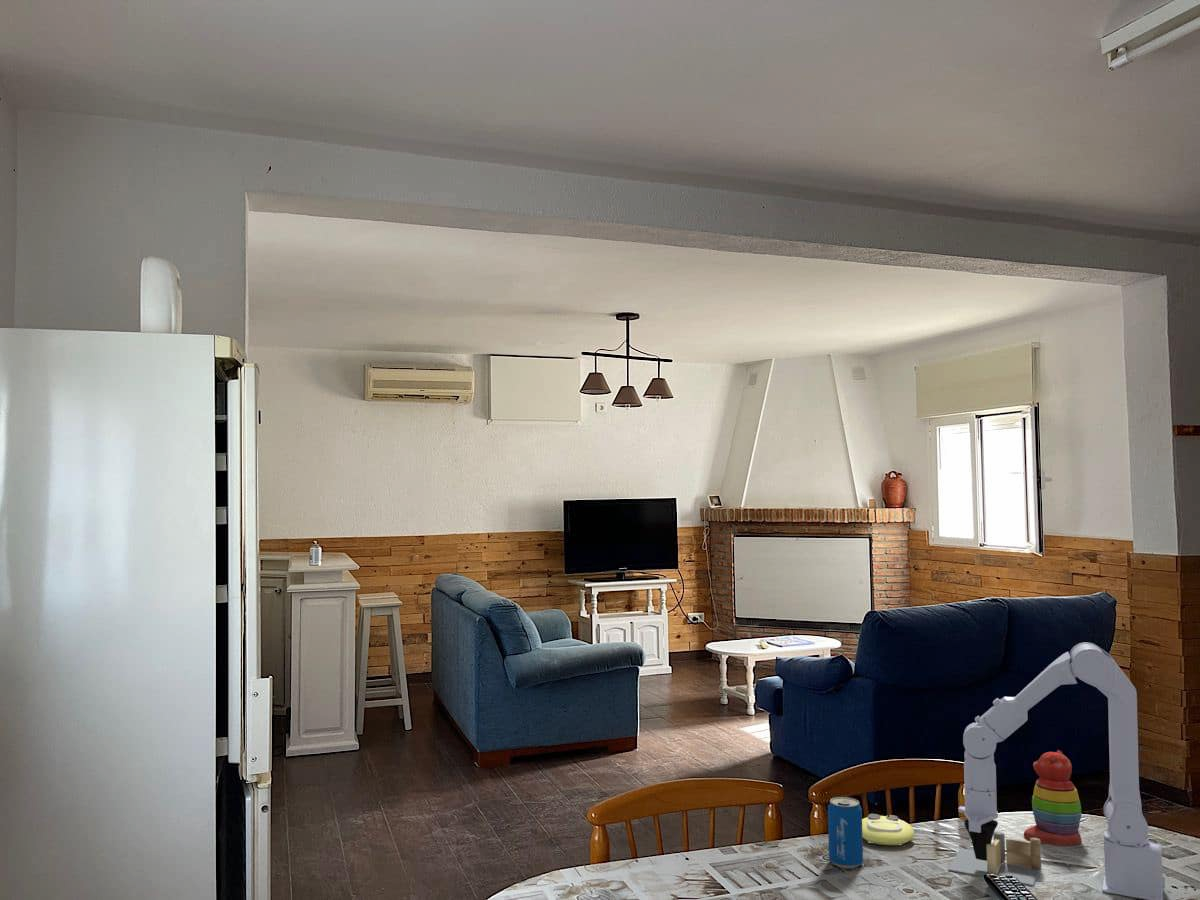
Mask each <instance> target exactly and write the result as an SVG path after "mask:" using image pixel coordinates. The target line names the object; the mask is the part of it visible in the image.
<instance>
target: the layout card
mask: <svg viewBox="0 0 1200 900" xmlns="http://www.w3.org/2000/svg"><path fill="white" fill-rule="evenodd" d="M947 871H948V872H953V873H957V874H963V875H968V876H974V877H980V878H984V875H985V874H990V873H988V872H987V861H984V860H979V859H976V857H975V853H974V849H968V848H963V847H960V848H959V850H958V851H957V854H955V857H954V858H953V860H952V862H951V864H950V865H949V866H948V868H947ZM1039 871H1040V870H1035V869H1032V868H1029V867H1024V866H1018V865H1012V864H1007V858H1006V855H1005V861H1004V862H1000V864H999V866H998V867H997V869H996V874H994V875H1011V876H1013V877H1015V878H1017V879H1018V880H1019V881H1020V882H1021V883H1022V884H1021V885H1024V886H1029V887H1034V886H1035V883H1036V881H1037V878H1038V874H1039Z"/></svg>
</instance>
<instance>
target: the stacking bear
mask: <svg viewBox="0 0 1200 900" xmlns="http://www.w3.org/2000/svg"><path fill="white" fill-rule="evenodd" d="M1032 766H1033V769H1034V772H1035V773H1036V775H1037V776H1038V779H1036V781H1035V785H1034V788H1033V795H1032V797H1031V804H1032V806H1031V808H1032V814H1033V818H1034V823H1035V825H1033V826H1030V827H1029V828H1026V829H1025V830H1024V832H1023V837H1024V838H1025V839H1027V841H1028V840H1029V841H1030V838H1038V839H1040V844H1044V845H1045V844H1046V845H1051V846H1053V845H1054V846H1076V845H1078V844H1080V843H1081V842H1082V837H1081V833H1080V831H1079V828H1080V821H1081V819H1082V806H1081V805H1082V804H1081V801H1080V797H1079V793H1078V790H1077V788H1076V787H1075V785H1074V784H1073V782H1072V781H1071V780H1070V778H1071V775H1072V772H1073V771H1072V770H1073V766H1072V763H1071V760H1070V759H1069V758H1068V757H1067V756H1066V755H1064V753H1063V752H1062V751H1061V750H1058V749H1057V751H1048V752H1044V753H1043V754H1041V755H1040V757H1039V758H1038V760H1036V761H1034V762H1033V765H1032Z"/></svg>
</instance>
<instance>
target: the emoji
mask: <svg viewBox="0 0 1200 900" xmlns="http://www.w3.org/2000/svg"><path fill="white" fill-rule="evenodd" d="M888 815H889V817H888ZM888 815H885V816H884V815H880V814H877V813H869V814H868V816H867V817H864V818H862V839H864V840H865V841H867V842H868V841H870V842H873V843H876V844H875V845H883V846H899V844H903V845H904V844H905V843H908V842H909V841H911V840H913V838H914V836H915V833H916V832H915V830H914V828H913V826H911V824H909V823H907V822H906V821H904V820H902V819H900V818H899V817H898V816H897V815H893V814H888Z"/></svg>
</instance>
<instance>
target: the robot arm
mask: <svg viewBox="0 0 1200 900" xmlns="http://www.w3.org/2000/svg"><path fill="white" fill-rule="evenodd" d="M1076 679H1079V680H1081V681H1083V682H1084V683H1085V684H1087V685H1090V686H1092V687H1095V688H1097V690H1098V691H1100V692H1101V693H1102V694H1103V695H1104V696H1105V697H1107V706H1108V707H1107V708H1108V746H1109V747H1108V748H1109V749H1108V751H1109V752H1108V753H1109V784H1108V786H1109V787H1108V797H1107V800H1106V801H1105V803H1104V805H1103V815H1104V818H1105V820H1107V829H1106V830H1105V831H1104V832H1103V846H1104V847H1103V849H1104V875H1103V881H1102V885H1101V886H1102V887H1101V891H1102V892H1103V893H1108V894H1113V895H1119V896H1125V897H1130V898H1137V899H1143V900H1164V889H1165V888H1166V880H1165V879H1166V878H1165V877H1164V876H1163V856H1162V855H1163V853H1162V845H1161V844H1159V843H1155V842H1151V841H1150V840H1149V838H1148V837H1149V836H1148V834H1149V825H1148V822H1147V820H1146V818H1145V816H1144V815H1143V810H1142V799H1141V794H1140V793H1141V792H1140V774H1139V766H1140V765H1139V736H1138V733H1139V732H1138V731H1139V730H1138V728H1139V727H1138V696H1137V695H1138V694H1137V693H1138V692H1137V689H1136V687H1135V685H1134V684H1133V683H1132V682H1131V680H1130V679H1129V677H1128V676H1127V675H1126V674H1125V673H1124V671H1123V669H1121V668H1120V666H1119V665H1118V663H1117V662H1116V661H1115V659H1114V658H1113V656H1112V655H1111V654H1110V653H1108V652H1107V651H1105V650H1104V649H1103V648H1101V647H1100V646H1098V645H1096V644H1095V643H1092V642H1080V643H1077V644H1076V645H1074V646H1073V647H1072V648H1071V650H1070V651H1066V652H1064V653H1063V654H1061V655H1060V656H1058V657H1057V658H1056V659H1055V660H1053V662H1051V663H1050V664H1048V665H1047V667H1045V668H1044V670H1043V671H1040V673H1039V674H1038V675H1037V676H1036V677H1034V679H1033V680H1031V682H1029V683H1028V684H1027V685H1026V686H1025V687H1024V688H1023V689H1022V690H1020V692H1019V693H1017V694H1016V696H1003V697H1002V698H1000V699H999V698H998V697H997V698H995V699H994V700H993V701H992V704H993V706H991V707H990V708H989V709H988V710H987V711H985V712H984V713H983V714H982V715H981V716H980V715H977V716H975V718H974V721H975V722H972V723H970V724H968V725H966V727H965V728H964V732H963V735H962V742H963V743H962V744H963V747H964V749H965V750H964V753H963V754H964V755H963V756H964V762H963V771H964V772H963V776H964V779H963V780H964V806H962V805H960V806H959V807H958V812H959V813H960V814H964V815H965V817H966V818H965V820H964V827H965V828H966V831H967V832H968V835H969V838H970V840H971V844H972V848H973V849H972V850H974V853H975V857H976V859H979V860H984V861H987V844H992V841H993V840H992V839H993V838H994V835H993V834H994V832H996V831H995V830H996V829H997V826H998V825H999V823H998V821H997V820H996V819H998V818H999V812H998V807H997V805H998V804H997V803H998V802H997V800H998V799H997V765H996V763H995V756H994V755H995V754H994V753H995V752H996V749H997V744H998V743H1002V742H1004V741H1005V740H1006V739H1007V738H1008V737H1010V736H1011V735H1012V734H1014V733H1015V731H1017V730H1018V729H1019V728H1020V727H1021V726H1023V725H1024V724H1025V723H1026V722H1027V721H1028V717H1029V716H1028V711H1029V710H1030V709H1031V708H1033V707H1034V706H1035V705H1037V704H1038V703H1040V701H1042V700H1043V699H1044V698H1046V697H1047V696H1048V695H1049V694H1051V693H1052V692H1053V691H1054V690H1056V689H1057V688H1058V687H1060V686H1061V685H1063V686H1064V685H1065V686H1066V685H1076V684H1078V681H1077V680H1076Z"/></svg>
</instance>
